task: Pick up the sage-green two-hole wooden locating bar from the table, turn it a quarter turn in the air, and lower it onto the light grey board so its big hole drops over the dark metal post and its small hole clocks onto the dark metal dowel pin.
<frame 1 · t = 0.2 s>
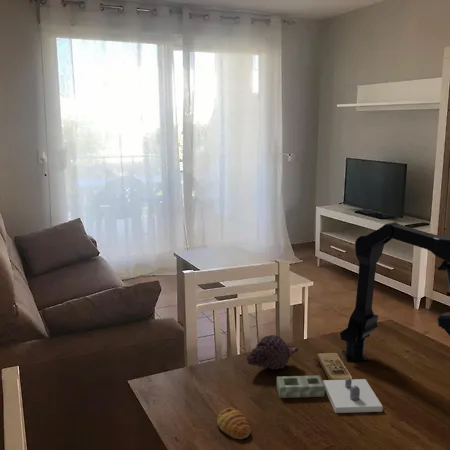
locating bar: (299, 391, 142), on the table
pastry: (234, 429, 125), on the table
post board: (351, 397, 138), on the table
pine cone: (271, 368, 155), on the table
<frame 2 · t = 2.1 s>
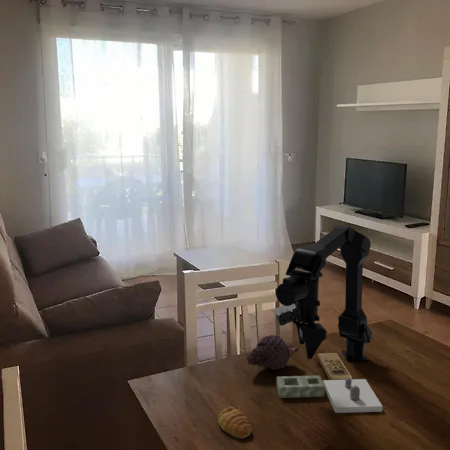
hand: (305, 351, 139), 12 cm above the table, tool pointing down, fingers open, 9 cm apart
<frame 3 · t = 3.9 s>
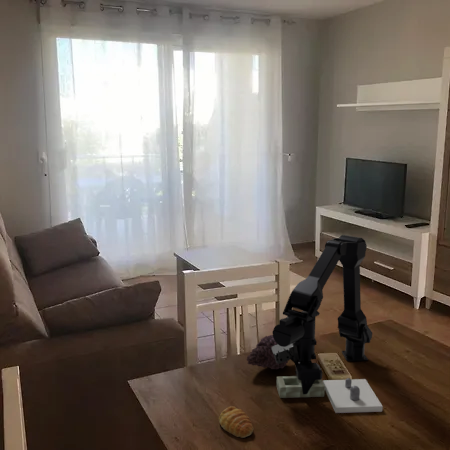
hand: (302, 387, 142), 1 cm above the table, tool pointing down, fingers closed on locating bar, 6 cm apart
locating bar: (299, 391, 142), on the table, touching gripper
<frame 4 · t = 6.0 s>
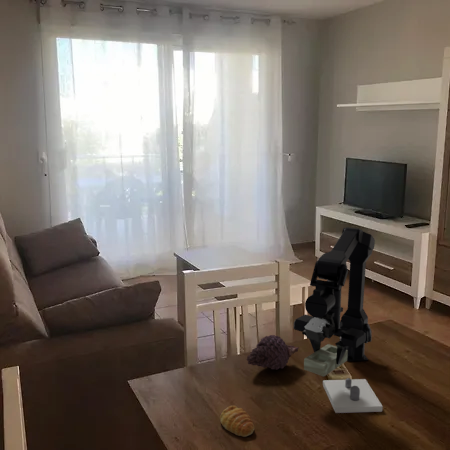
hand: (327, 360, 138), 10 cm above the table, tool pointing down, fingers closed on locating bar, 6 cm apart
locating bar: (325, 364, 138), point 9 cm above the table, touching gripper
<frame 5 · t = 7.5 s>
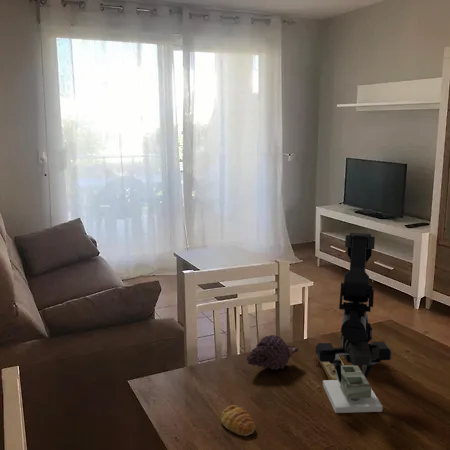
hand: (351, 381, 138), 5 cm above the table, tool pointing down, fingers closed on locating bar, 6 cm apart
locating bar: (352, 386, 137), point 4 cm above the table, touching gripper
when the fingers open (3 cm above the table, at t = 8.6 s): locating bar stays where it is, resting on post board.
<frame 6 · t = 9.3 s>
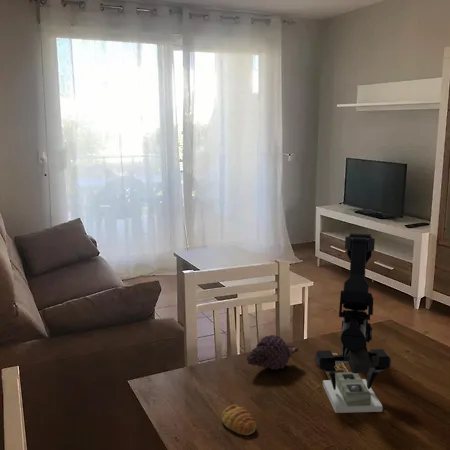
hand: (351, 388, 138), 3 cm above the table, tool pointing down, fingers open, 9 cm apart
locating bar: (352, 393, 138), point 1 cm above the table, touching post board
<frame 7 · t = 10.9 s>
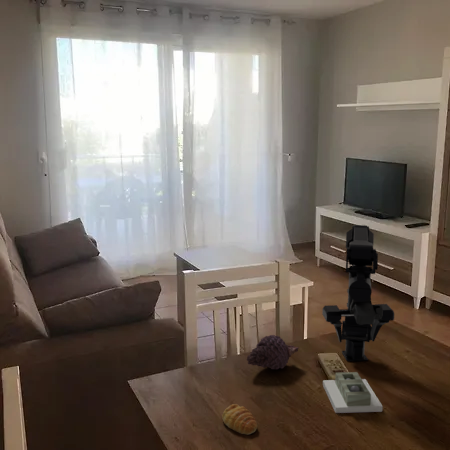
hand: (356, 341, 146), 12 cm above the table, tool pointing down, fingers open, 9 cm apart
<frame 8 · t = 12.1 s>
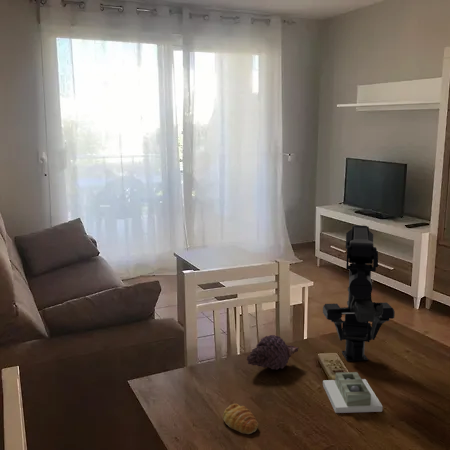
hand: (356, 339, 146), 12 cm above the table, tool pointing down, fingers open, 9 cm apart
at the end: locating bar 0.0 cm off-centre on the post board, point 1.5 cm above the post board's base; locating bar tilted 0°; the gripper is holding nothing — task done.
